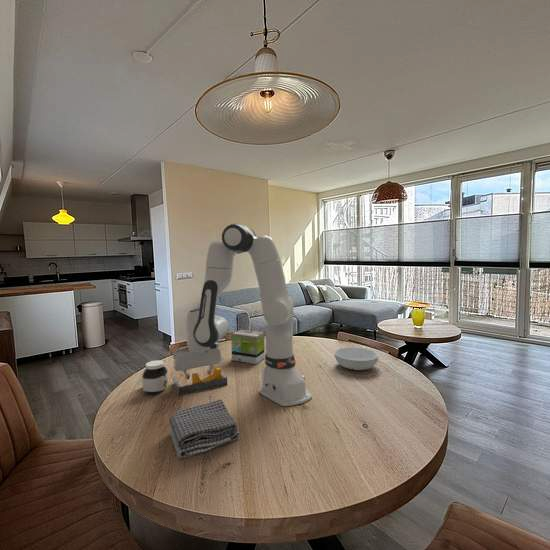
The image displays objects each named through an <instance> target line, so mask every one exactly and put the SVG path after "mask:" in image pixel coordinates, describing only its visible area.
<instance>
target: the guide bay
mask: <svg viewBox="0 0 550 550" xmlns="http://www.w3.org/2000/svg"><path fill="white" fill-rule="evenodd" d="M172 377H173V378H172V379H173V380H172V381H173V385H174V388H175V387H176V388H175V389H177V390H176V392H177V393H178V396H179V395H180V396H183V394H184V395H188V393H189V394H193V393H197V392H201V391H206V390H209V389H210V390H211V389H214V388H219V387H220V388H221V387H223V386H227V385H228V377H227V376H226V375H225V374H224V372H223V371H221V378H220V379H215V380H210V381H206V382H201V383H196V384H192V383H191V384H187V385H183V386H181V384H180V382H179V380H178V378H177V376H172ZM192 392H193V393H192Z"/></svg>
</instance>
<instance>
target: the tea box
mask: <svg viewBox="0 0 550 550" xmlns="http://www.w3.org/2000/svg"><path fill="white" fill-rule="evenodd" d="M230 339H231V342H230V343H231V361H235V362H240V363H241V362H242V363H247V364H252V365H258V364H259V363H260V362H262V361H263V360H265V332H264V331H255V330H247V329H239V330H237V331H235V332H233V333H231V338H230ZM262 359H263V360H262ZM257 363H258V364H257Z"/></svg>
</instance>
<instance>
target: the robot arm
mask: <svg viewBox="0 0 550 550" xmlns="http://www.w3.org/2000/svg"><path fill="white" fill-rule="evenodd" d="M243 253H248V254H249V255H250V257H251V260H252V264H253V268H254V272H255V276H256V280H257V283H258V288H259V289H258V290H259V298H260V303H261V309H262V315H263V318H264V320H265V321H266V332H265V333H266V335H265V351H266V352H265V354H264V361H265V362H264V364H265V367H264V369H263V371H262V376H261V387H260V388H259V389H258V393H259V394H261V395H262V396H263V397H265V398H267V399H269V400H271V401H273V402H274V403H276V404H277V405H279V406H281V407H289V406H296V405H300V404H303V403H306V402H308V401H310V400H311V399H313V395H312V393H311V392H310V391H309V390H308V389H307V387H306V382H305V380H306V377H305V375H303V374H301V373H300V370H299V369H298V367H297V366H296V363H297V360H296V358H295V354H294V345H293V344H294V342H293V341H294V339H293V337H294V335H293V334H294V301H293V299H292V297H291V296H290V295H288V289H287V284H286V276H285V273H284V269H283V265H282V261H281V258H280V255H279V252H278V249H277V247H276V244H275V242H274V240H273V238H272V237H271V236H269V235H263V234H262V235H256V233H255V231H254V230H253V229H252V228H250V227H248V226H246V225H244V224H241V223H240V224H239V223H231V224H229V225H227V226H226V227H225V228H224V229H223V231H222V233H221V240H214V241H212V242H211V243H210V244H209V247H208V250H207V254H206V262H205V273H204V274H205V276H204V282H203V286H202V291H201V296H200V303H199V308H193V309H191V310H189V311H188V313H187V316H186V332H187V338H186V346H185V347H181V348H176V349H175V350H174V351H173V352H172V358H173V359H174V360H173V369H174V371H176V372H181V371H182V372H183V373H184V375H185V380H190V377H191V376H190V374H189V373H187V372H188V371H187V370H191V369H197V368H202V367H207V366H209V368H208V369H207V370H206V374H207V376H209V375H212V371H213V370H214V365H218V364H221V362H222V353H221V349H220V344H219V342H218V341H219V340H221V339H223V338H224V337H225V336H226V335H227V334H228V332H229V330H230V323H229V321H228V320H227V318H226V317H223V316H222V315H221V316H220V315H216V312H217V303H218V299H219V297H220V296H221V294H222V293H223V292H224V290H226V288H228V286H229V285H230V284H231V281H232V278H233V269H234V268H233V267H234V266H233V265H234V257H235V256H236V254H243Z"/></svg>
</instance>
